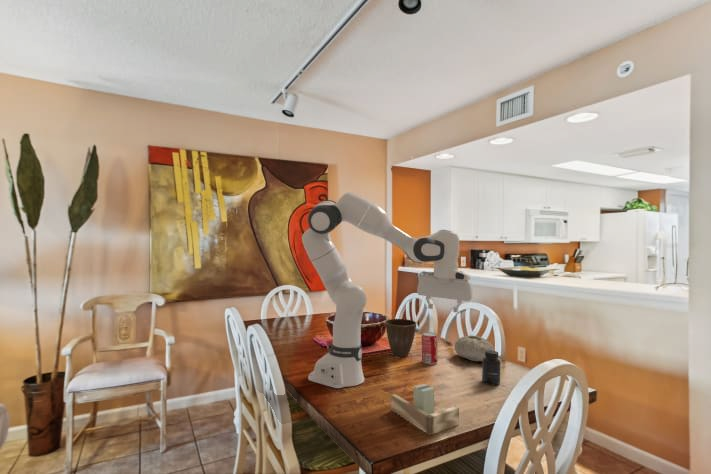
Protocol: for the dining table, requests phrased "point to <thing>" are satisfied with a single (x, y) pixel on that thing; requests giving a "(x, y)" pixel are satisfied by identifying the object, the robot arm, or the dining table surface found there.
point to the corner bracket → (425, 416)
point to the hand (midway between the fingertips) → (442, 310)
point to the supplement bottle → (491, 368)
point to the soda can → (429, 348)
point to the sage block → (424, 398)
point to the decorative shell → (472, 347)
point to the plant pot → (400, 336)
